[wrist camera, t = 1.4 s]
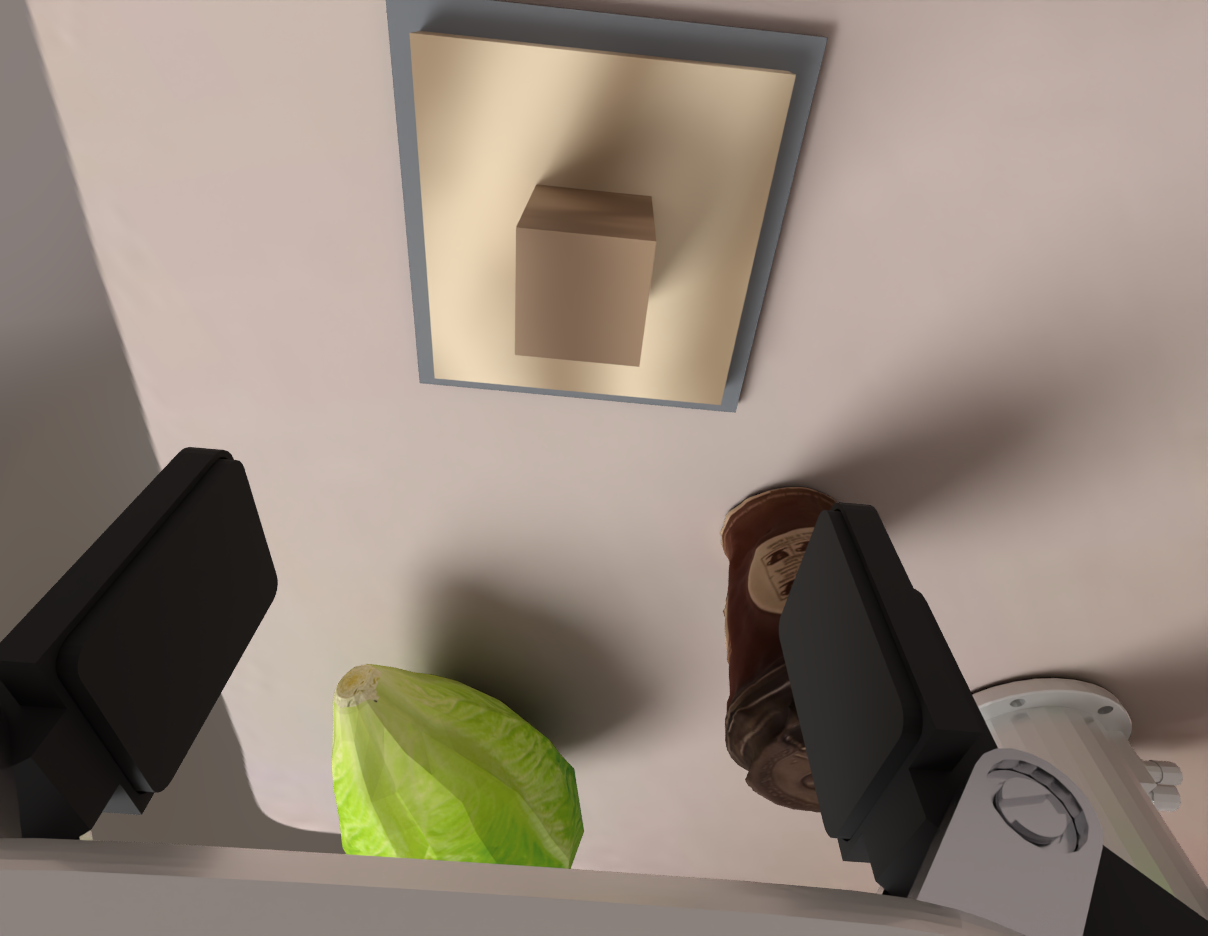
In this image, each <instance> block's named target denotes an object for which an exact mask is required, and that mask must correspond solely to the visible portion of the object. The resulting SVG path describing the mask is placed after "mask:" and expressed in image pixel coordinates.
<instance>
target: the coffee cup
mask: <svg viewBox="0 0 1208 936" xmlns="http://www.w3.org/2000/svg"><path fill="white" fill-rule="evenodd" d="M835 503H837V502H836V501H835V500H834V499H833V498H831V497H830V496H828V495H825V494H823V493H821V492H818V491H815V490H812V489H809V488H804V487H786V488H779V489H774V490H769V491H766V492H763V493H761V494H758V495H755V496H752V497H749V498H747V499H745V500H744V501H743V502H742V503H741V504H740V505H738V506H737V507H735V508H734V509H732V510H730V511H729V512H728V513H727V514H726V517H725V521H724V526H723V528H722V529H721V532H720V534H721V536H722V540H721V545H722V547H723V550H724V552H725V555H726V556H727V558H728V559H729V562H730V565H729V585H728V593H727V597H726V605H725V609H724V611H723V612H724V616H725V636H726V649H727V660H728V663H729V682H730V696H729V699H728V701H727V714H726V718H725V728H726V730H725V741H726V747H727V750H728V752H729V754H730V756H731V758H732V759H733V760H734V761H735V762H736V763H737V764H738V765H739V766H741V767H742V768H744V769H746V770H748V771H749V772H748V774H747V777H746V779H745V780H746V783H747V784H748V786H750V787H751V788H752V789H753V791H755V792H757V793H758V794H759V795H761V796H763V797H764V798H766V799H768V800H770V801H772V802H773V803H775V804H777V805H781V806H784V807H788V808H791V809H797V810H805V811H813V812H821V811H820V807H819V802H818V798H817V794H816V790H815V786H814V781H813V777H812V773H811V769H810V764H809V760H808V756H807V752H806V748H805V743H804V739H803V735H802V731H801V727H800V722H799V718H798V714H797V710H796V705H795V701H794V697H793V693H792V689H791V684H790V680H789V676H788V672H787V668H786V663H785V659H784V655H783V651H782V646H781V642H780V637H779V621H780V617H781V614H782V611H783V609H784V606H785V603H786V601H787V598H788V595H789V593H790V590H791V588H792V585H793V582H794V580H795V577H796V574H797V572H798V569H799V567H800V564H801V561H802V559H803V556H804V553H805V551H806V548H807V546H808V543H809V540H810V538H811V535H812V532H813V530H814V527H815V524H816V522H817V519H818V517H819V515H820V513H821V512H822V511H823V510H830V509H831V507H832V506H833V505H834V504H835Z"/></svg>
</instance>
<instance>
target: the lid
mask: <svg viewBox="0 0 1208 936" xmlns="http://www.w3.org/2000/svg"><path fill="white" fill-rule="evenodd" d="M409 34H410V47H411V61H412V75H413V89H414V102H415V116H416V130H417V143H418V157H419V171H420V184H421V198H422V212H423V226H424V239H425V253H426V267H427V280H428V294H429V308H430V322H431V335H432V349H433V363H434V376H435V378H437V379H448V380H458V381H469V382H480V383H490V384H501V385H512V386H522V387H533V388H544V389H554V390H565V391H576V392H586V393H597V394H608V395H618V396H629V397H640V398H650V399H661V400H672V401H682V402H693V403H704V404H714V405H721V402H722V397H723V393H724V389H725V384H726V380H727V375H728V371H729V367H730V362H731V358H732V353H733V349H734V345H735V340H736V336H737V331H738V327H739V323H740V318H741V314H742V310H743V305H744V301H745V296H746V292H747V288H748V283H749V279H750V274H751V270H752V266H753V261H754V257H755V253H756V248H757V244H758V239H759V235H760V231H761V226H762V222H763V217H764V213H765V209H766V204H767V200H768V196H769V191H770V187H771V182H772V178H773V174H774V169H775V165H776V160H777V156H778V152H779V147H780V143H781V139H782V134H783V130H784V125H785V121H786V117H787V112H788V108H789V103H790V99H791V95H792V90H793V86H794V82H795V77H796V75H795V74H793V73H791V72H789V71H784V70H775V69H766V68H756V67H747V66H738V65H729V64H720V63H711V62H701V61H692V60H683V59H674V58H665V57H655V56H646V55H637V54H628V53H619V52H610V51H600V50H591V49H582V48H573V47H564V46H554V45H545V44H536V43H527V42H518V41H509V40H499V39H490V38H481V37H472V36H463V35H453V34H444V33H435V32H426V31H416V32H411V33H409Z"/></svg>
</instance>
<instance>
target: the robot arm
mask: <svg viewBox="0 0 1208 936" xmlns="http://www.w3.org/2000/svg"><path fill="white" fill-rule="evenodd" d="M277 585H278V580H277V575H276V571H275V568H274V565H273V562H272V558H271V555H270V552H269V548H268V545H267V542H266V538H265V535H264V532H263V528H262V525H261V522H260V519H259V515H258V512H257V509H256V505H255V502H254V499H253V495H252V492H251V489H250V485H249V482H248V479H247V476H246V472H245V469H244V466H243V464H242V463H241V462H240V461H237V460H234V459H233V457H232V455H231V454H230V453H229V452H228V451H225V450H218V449H206V448H194V447H188V448H184V449H183V450H181V451H180V452H179V453H178V454H177V455H176V456H175V457H174V458H173V459H172V460H171V462H170V463H169V464H168V465H167V466H166V467H165V468H164V469H163V470H162V471H161V472H160V473H159V474H158V475H157V476H156V478H155V479H154V480H153V481H152V482H151V483H150V484H149V485H148V486H147V487H146V488H145V489H144V490H143V491H142V493H141V494H140V495H139V496H138V497H137V498H136V499H135V500H134V501H133V502H132V503H131V504H130V505H129V506H128V507H127V508H126V509H125V510H124V512H123V513H122V514H121V515H120V516H119V517H118V518H117V519H116V520H115V521H114V522H113V523H112V524H111V525H110V526H109V528H108V529H107V530H106V531H105V532H104V533H103V534H102V535H101V536H100V537H99V538H98V539H97V540H96V542H94V543H93V545H92V546H91V547H90V548H89V549H88V550H87V551H86V552H85V553H84V554H83V555H82V556H81V557H80V558H79V559H78V561H77V562H76V563H75V564H74V565H73V566H72V567H71V568H70V569H69V570H68V571H67V572H66V573H65V574H64V575H63V576H62V578H61V579H60V580H59V581H58V582H57V583H56V584H55V585H54V586H53V587H52V588H51V589H50V590H49V591H48V592H47V594H46V595H45V596H44V597H43V598H42V599H41V600H40V601H39V602H38V603H37V604H36V605H35V606H34V607H33V609H31V611H30V612H29V613H28V614H27V615H26V616H25V617H24V618H23V619H22V620H21V621H20V622H19V623H18V624H17V625H16V627H15V628H14V629H13V630H12V631H11V632H10V633H9V634H8V635H7V636H6V637H5V638H4V639H3V640H2V641H1V642H0V936H1208V888H1207V886H1206V885H1205V883H1204V882H1203V880H1202V879H1201V877H1200V876H1199V874H1198V872H1197V871H1196V869H1195V868H1194V866H1193V865H1192V863H1191V862H1190V860H1189V858H1188V857H1187V855H1186V854H1185V852H1184V851H1183V849H1182V848H1181V846H1180V844H1179V843H1178V841H1177V840H1176V838H1175V837H1174V835H1173V834H1172V832H1171V830H1170V829H1169V827H1168V826H1167V824H1166V823H1165V821H1164V820H1163V818H1162V816H1161V815H1160V813H1159V812H1158V810H1159V811H1172V812H1174V811H1175V810H1177V809H1178V808H1179V806H1180V804H1181V801H1180V794H1179V792H1178V790H1177V788H1176V787H1175V786H1174V785H1179V784H1181V782H1182V780H1183V779H1182V772H1181V770H1180V768H1179V767H1178V766H1177V765H1176V764H1175V763H1173V762H1170V761H1157V760H1149V761H1143V760H1142V759H1140V758H1139V757H1138V755H1137V754H1136V752H1135V751H1134V749H1133V748H1132V746H1131V745H1130V743H1129V742H1128V740H1129V737H1130V735H1131V732H1132V722H1131V719H1130V717H1129V715H1128V712H1127V711H1126V710H1125V708H1124V707H1123V706H1122V704H1121V703H1120V701H1119V700H1118V699H1117V697H1116V696H1114V695H1113V694H1112V693H1110V692H1109V691H1108V690H1106V689H1104V688H1101V687H1099V686H1097V685H1094V684H1092V683H1087V682H1083V681H1078V680H1074V679H1062V678H1040V679H1029V680H1022V681H1015V682H1010V683H1006V684H1002V685H998V686H994V687H991V688H988V689H985V690H983V691H980V692H977V693H974V694H972V693H971V691H970V689H969V687H968V685H967V683H966V681H965V679H964V677H963V675H962V673H961V671H960V669H959V667H958V665H957V663H956V661H955V659H954V657H953V655H952V652H951V650H950V648H949V646H948V644H947V642H946V640H945V638H944V636H943V634H942V632H941V630H940V628H939V626H938V624H937V622H936V620H935V618H934V616H933V614H932V611H931V609H930V607H929V605H928V603H927V601H926V600H925V598H924V597H923V595H922V594H921V593H920V592H919V591H917V590H916V589H914V588H913V586H912V584H911V582H910V580H909V578H908V576H907V574H906V571H905V569H904V567H903V565H902V563H901V561H900V559H899V557H898V555H897V553H896V550H895V548H894V546H893V544H892V542H891V540H890V538H889V536H888V534H887V532H886V529H885V527H884V525H883V523H882V521H881V519H880V517H879V515H878V513H877V511H876V509H875V508H874V507H873V506H871V505H864V504H852V503H840V502H838V503H835V504H834V505H833V506H832V507H831V509H830V510H823V511H822V512H821V513H820V515H819V517H818V519H817V522H816V524H815V527H814V530H813V532H812V535H811V538H810V540H809V543H808V546H807V548H806V551H805V553H804V556H803V559H802V561H801V564H800V567H799V569H798V572H797V574H796V577H795V580H794V582H793V585H792V588H791V590H790V593H789V595H788V598H787V601H786V603H785V606H784V609H783V611H782V614H781V617H780V621H779V637H780V642H781V646H782V651H783V655H784V659H785V663H786V668H787V672H788V676H789V680H790V684H791V689H792V693H793V697H794V701H795V705H796V710H797V714H798V718H799V722H800V727H801V731H802V735H803V739H804V743H805V748H806V752H807V756H808V760H809V764H810V769H811V773H812V777H813V781H814V786H815V790H816V794H817V798H818V802H819V807H820V811H821V815H822V819H823V823H824V827H825V830H826V832H827V834H828V835H829V836H830V837H831V838H837V839H838V843H839V847H840V851H841V855H842V859H843V861H851V862H867V863H871V867H872V870H873V874H874V877H875V881H876V882H877V883H878V884H879V885H880V887H879V889H878V891H877V893H876V894H874V893H867V892H860V891H852V890H841V889H829V888H818V887H807V886H795V885H784V884H772V883H761V882H750V881H737V880H723V879H708V878H694V877H680V876H665V875H651V874H637V873H622V872H608V871H593V870H579V869H565V868H549V867H534V866H519V865H503V864H488V863H472V862H457V861H441V860H426V859H410V858H394V857H379V856H363V855H347V854H329V853H314V852H297V851H296V852H295V851H280V850H264V849H247V848H230V847H213V846H196V845H180V844H163V843H141V842H117V841H93V840H92V834H91V829H92V827H93V826H94V824H95V823H96V821H97V819H98V818H99V816H100V815H101V813H102V812H107V813H123V814H138V815H141V814H142V813H143V812H144V810H145V808H146V806H147V804H148V803H149V801H150V800H151V798H152V796H153V794H154V793H155V792H161V791H163V790H164V789H165V788H166V787H167V786H168V785H169V783H170V782H171V780H172V779H173V777H174V775H175V773H176V772H177V770H178V768H179V766H180V765H181V763H182V761H183V759H184V758H185V756H186V754H187V752H188V750H189V749H190V747H191V745H192V743H193V741H194V740H195V738H196V736H197V734H198V733H199V731H200V729H201V727H202V726H203V724H204V722H205V720H206V719H207V717H208V715H209V713H210V711H211V710H212V708H213V706H214V704H215V703H216V701H217V699H218V697H219V696H220V694H221V692H222V690H223V688H224V687H225V685H226V683H227V681H228V680H229V678H230V676H231V674H232V672H233V671H234V669H235V667H236V665H237V664H238V662H239V660H240V658H241V657H242V655H243V653H244V651H245V649H246V648H247V646H248V644H249V642H250V641H251V639H252V637H253V635H254V633H255V632H256V630H257V628H258V626H259V625H260V623H261V621H262V619H263V618H264V616H265V614H266V612H267V610H268V609H269V607H270V605H271V603H272V602H273V600H274V597H275V595H276V591H277Z"/></svg>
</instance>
